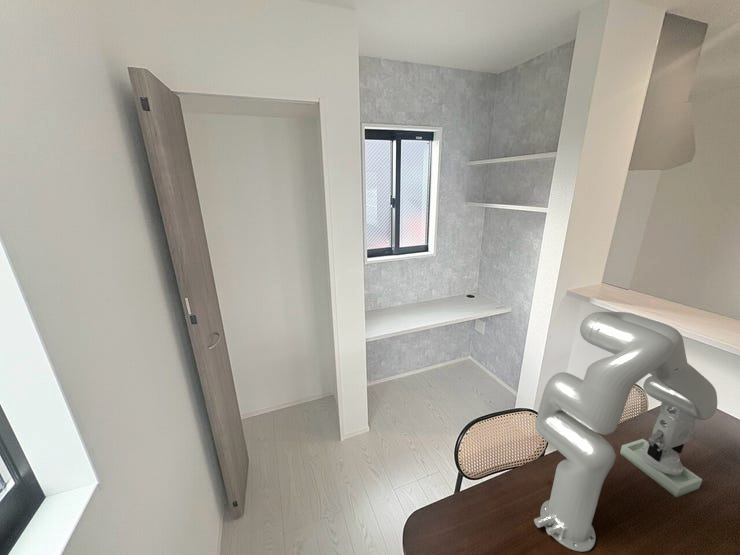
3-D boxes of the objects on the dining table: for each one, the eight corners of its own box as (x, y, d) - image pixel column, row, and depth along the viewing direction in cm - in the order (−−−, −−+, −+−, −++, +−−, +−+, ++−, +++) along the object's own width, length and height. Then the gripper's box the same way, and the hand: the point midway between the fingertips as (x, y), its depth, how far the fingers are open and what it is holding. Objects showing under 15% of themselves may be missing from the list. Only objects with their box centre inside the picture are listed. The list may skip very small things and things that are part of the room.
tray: (676, 497, 88) (679, 488, 87) (619, 453, 102) (622, 445, 101) (699, 488, 90) (702, 479, 89) (640, 446, 105) (643, 438, 104)
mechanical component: (652, 472, 91) (691, 478, 89) (656, 461, 90) (695, 467, 88) (632, 446, 101) (667, 451, 99) (635, 436, 100) (670, 440, 97)
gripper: (673, 425, 84) (658, 471, 89) (714, 411, 88) (697, 456, 93) (643, 407, 91) (631, 451, 96) (682, 395, 95) (669, 437, 100)
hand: (663, 453), depth 95 cm, fingers open, 9 cm apart
